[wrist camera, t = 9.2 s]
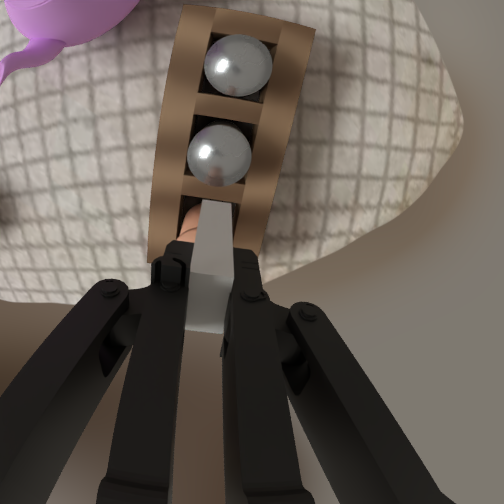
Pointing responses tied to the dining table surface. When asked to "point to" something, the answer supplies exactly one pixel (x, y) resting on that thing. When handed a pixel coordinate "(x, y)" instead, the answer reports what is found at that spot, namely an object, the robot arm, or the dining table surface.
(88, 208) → the dining table surface
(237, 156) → the grey plug mid
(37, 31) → the teapot
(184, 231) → the peach plug
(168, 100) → the wooden compartment tray
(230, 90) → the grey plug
